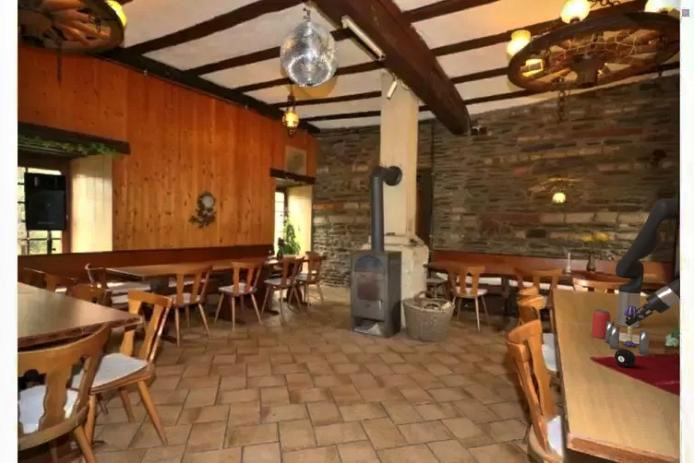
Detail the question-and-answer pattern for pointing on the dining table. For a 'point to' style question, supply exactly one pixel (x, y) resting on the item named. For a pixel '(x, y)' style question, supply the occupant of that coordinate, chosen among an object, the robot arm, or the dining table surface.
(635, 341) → the ceramic tile
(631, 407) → the dining table surface
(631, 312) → the toy lamp
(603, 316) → the beer can
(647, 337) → the spacer posts
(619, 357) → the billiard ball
